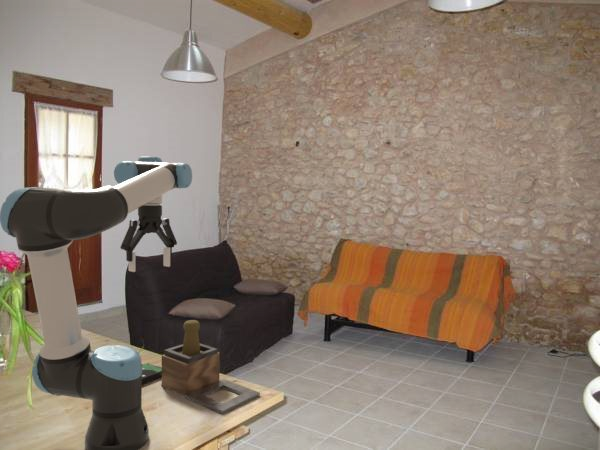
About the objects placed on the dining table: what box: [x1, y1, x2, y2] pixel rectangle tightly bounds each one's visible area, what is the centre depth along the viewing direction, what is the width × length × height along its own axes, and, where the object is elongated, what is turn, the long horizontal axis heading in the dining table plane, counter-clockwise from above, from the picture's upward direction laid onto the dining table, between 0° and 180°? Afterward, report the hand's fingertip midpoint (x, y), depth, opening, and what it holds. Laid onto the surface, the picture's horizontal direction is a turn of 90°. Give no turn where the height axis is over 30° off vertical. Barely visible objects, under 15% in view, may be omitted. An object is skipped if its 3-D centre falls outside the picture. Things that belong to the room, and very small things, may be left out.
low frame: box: [185, 378, 261, 415], centre depth 151 cm, size 16×16×1 cm
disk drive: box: [141, 362, 162, 386], centre depth 163 cm, size 10×3×15 cm
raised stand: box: [161, 342, 221, 397], centre depth 159 cm, size 14×12×12 cm
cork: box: [182, 319, 201, 357], centre depth 159 cm, size 6×6×11 cm
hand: (149, 268), depth 162 cm, fingers open, 13 cm apart
